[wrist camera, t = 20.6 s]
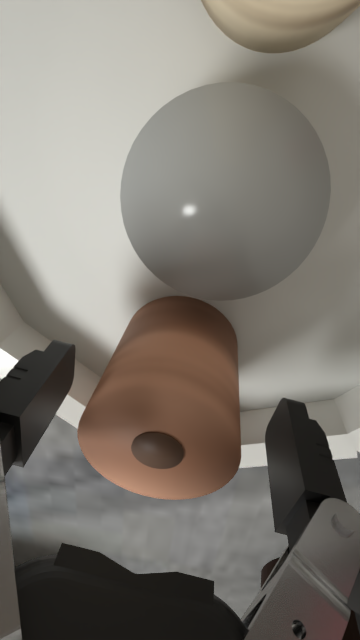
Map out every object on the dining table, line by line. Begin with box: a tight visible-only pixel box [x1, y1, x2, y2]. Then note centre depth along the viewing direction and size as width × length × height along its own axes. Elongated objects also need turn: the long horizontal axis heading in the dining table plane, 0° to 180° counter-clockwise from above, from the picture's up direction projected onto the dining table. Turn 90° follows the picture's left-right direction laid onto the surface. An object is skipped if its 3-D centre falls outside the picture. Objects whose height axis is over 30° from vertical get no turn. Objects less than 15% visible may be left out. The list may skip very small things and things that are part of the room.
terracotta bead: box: [78, 296, 241, 500], centre depth 12 cm, size 5×5×6 cm
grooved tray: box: [0, 0, 360, 468], centre depth 11 cm, size 23×23×3 cm
